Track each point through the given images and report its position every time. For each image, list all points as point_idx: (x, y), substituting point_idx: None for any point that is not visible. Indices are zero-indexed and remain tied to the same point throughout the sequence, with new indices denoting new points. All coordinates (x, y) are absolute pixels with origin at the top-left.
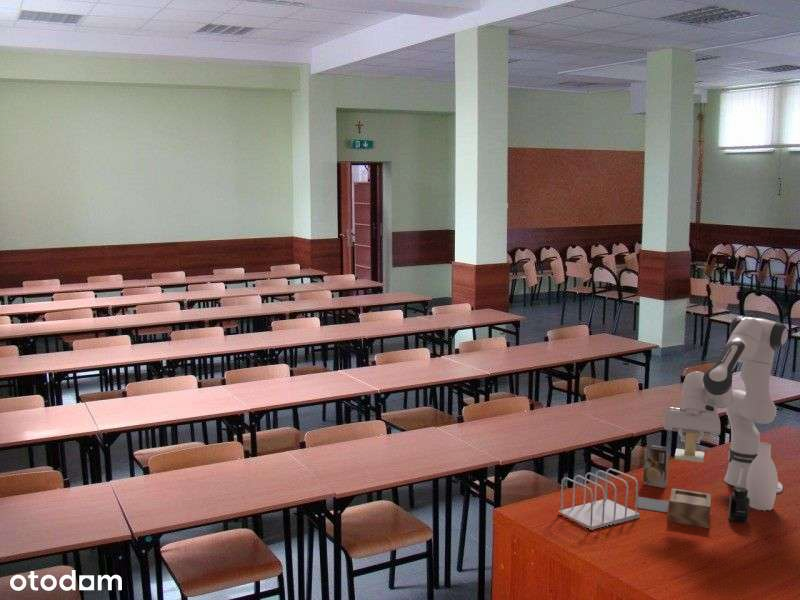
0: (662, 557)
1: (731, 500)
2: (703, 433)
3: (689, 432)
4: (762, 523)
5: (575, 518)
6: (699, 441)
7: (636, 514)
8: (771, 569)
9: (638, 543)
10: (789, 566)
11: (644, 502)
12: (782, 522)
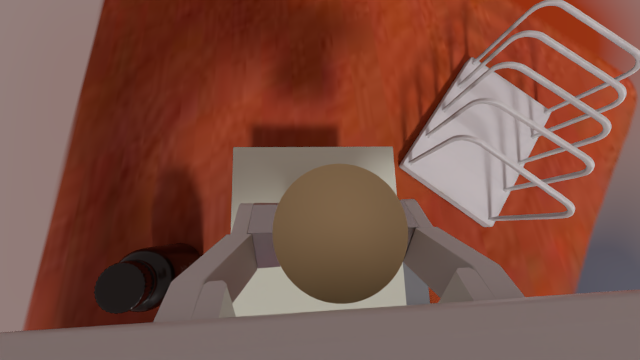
0: (330, 6)
1: (174, 261)
2: (172, 287)
3: (363, 260)
4: None
5: (509, 85)
6: (245, 204)
7: (408, 155)
8: (137, 26)
9: (377, 45)
10: (98, 51)
11: (406, 268)
12: (58, 308)
